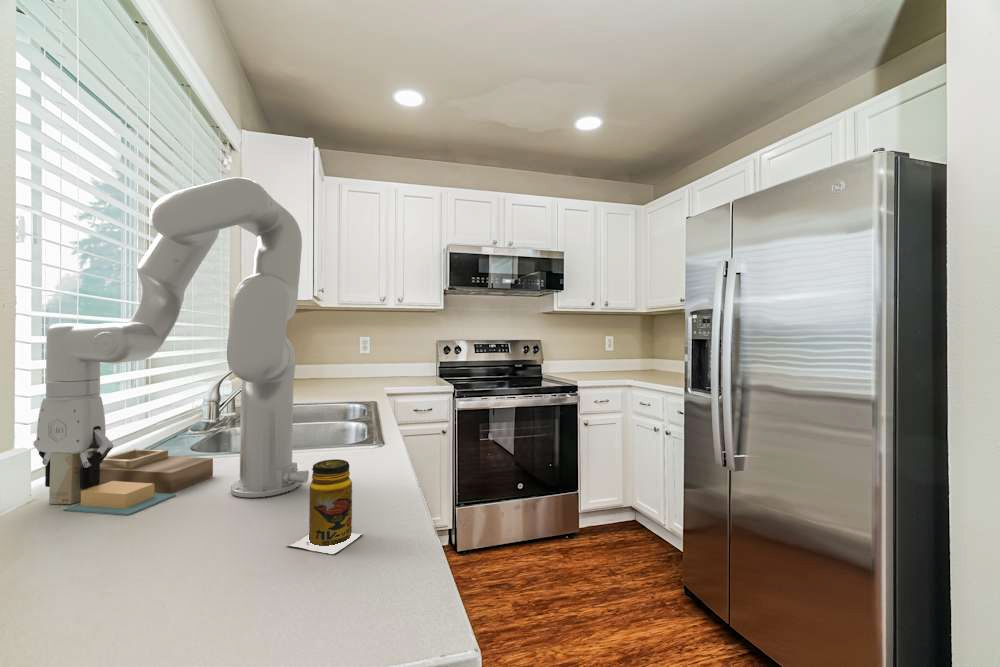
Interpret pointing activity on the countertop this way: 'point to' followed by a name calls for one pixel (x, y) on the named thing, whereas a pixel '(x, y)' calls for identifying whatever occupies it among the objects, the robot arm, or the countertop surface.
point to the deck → (155, 469)
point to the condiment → (330, 503)
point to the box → (65, 478)
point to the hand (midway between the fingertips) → (72, 485)
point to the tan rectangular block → (117, 494)
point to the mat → (122, 511)
